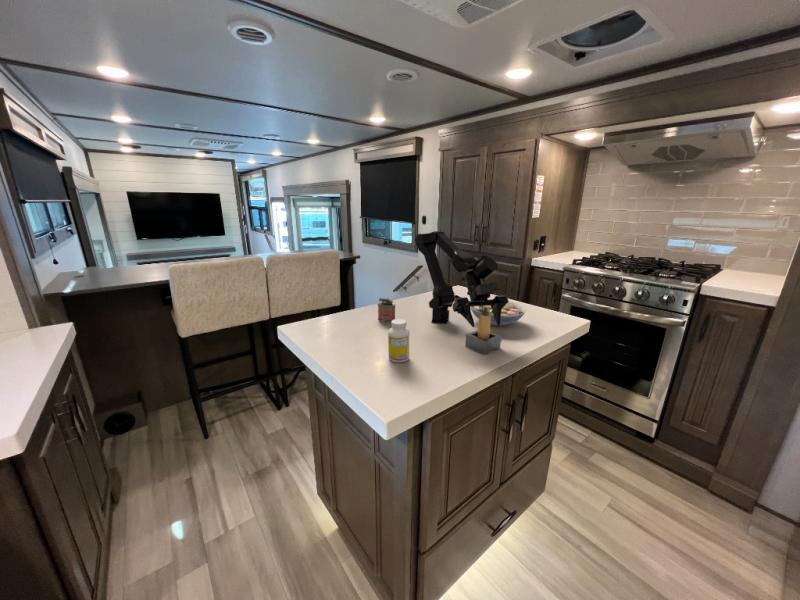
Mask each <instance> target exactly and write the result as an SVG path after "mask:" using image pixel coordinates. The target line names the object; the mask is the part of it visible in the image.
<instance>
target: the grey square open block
mask: <svg viewBox="0 0 800 600" xmlns="http://www.w3.org/2000/svg"><path fill="white" fill-rule="evenodd" d="M477 335H478V329H477V330H474V331H472V332H469V333H466V335H465V347H466V348H468V349H471V350H473V351H475V352H478V353H480V354H482V355H484V356H486V355H488V354H490V353H492V351H493V352H495V351H497V350H499V349H501V345H502V344H501V343H502V336H501V335H499V334H496V333H493V332H492V331H490V336H489V339H487V340H483V339H481V338H478V337H477Z"/></svg>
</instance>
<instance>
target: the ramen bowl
mask: <svg viewBox="0 0 800 600" xmlns="http://www.w3.org/2000/svg"><path fill="white" fill-rule="evenodd" d="M493 299H494V298H488V300H493ZM508 301H509V302H508V303H507V304H506V305H505V306H504V307H503V308H502V310H501V319H500V325H497V323H496V321H495V318H494V315H493V313H492V309H493V308H491V305H487V306H470V310H471V313H473V315H474V317H475V318H477V319H478V320H479V314H480V313H482V311H484V308H485V307H487V311H488V312H489V314H491V325H490V326H495V327H502V326H505V325H511V324H513V323H516V322H517V321H519V320H520V319H521V318H522V317H523V316H524V315H525V313H526V312H527V308H526V306H524V305H523V304H520V303H518V302H514V301H511V300H508Z"/></svg>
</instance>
